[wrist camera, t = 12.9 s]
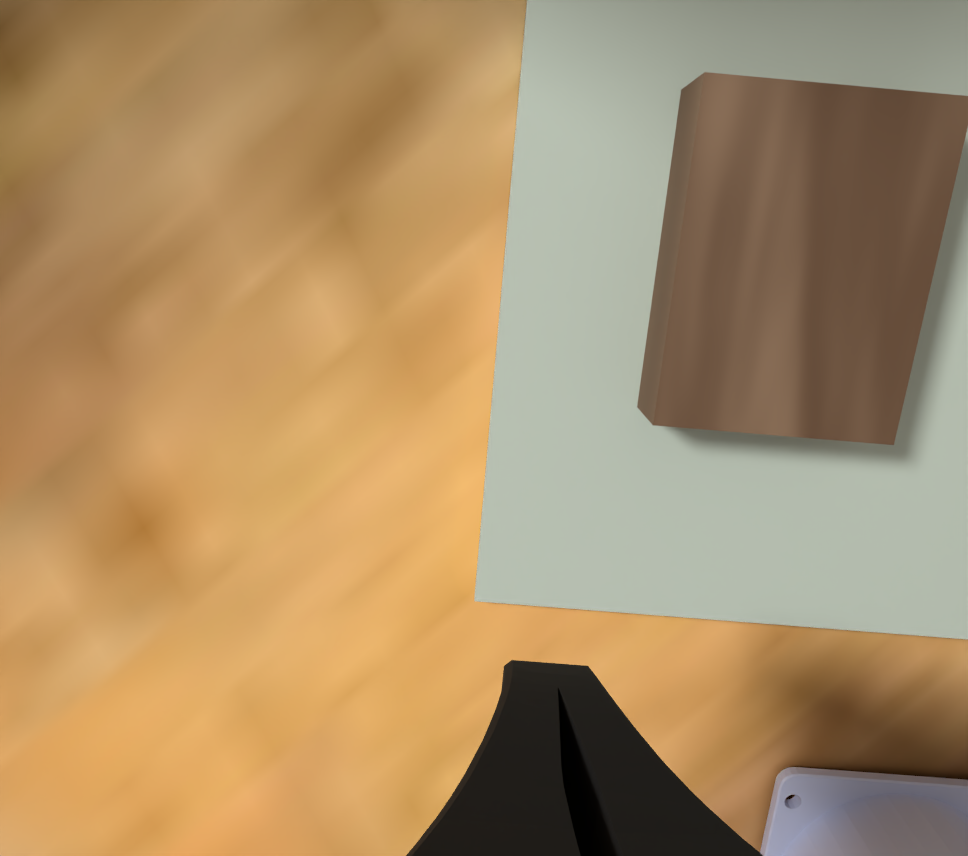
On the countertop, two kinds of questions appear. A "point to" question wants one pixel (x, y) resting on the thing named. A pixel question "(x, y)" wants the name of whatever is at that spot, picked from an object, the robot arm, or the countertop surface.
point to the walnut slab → (797, 255)
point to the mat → (623, 332)
